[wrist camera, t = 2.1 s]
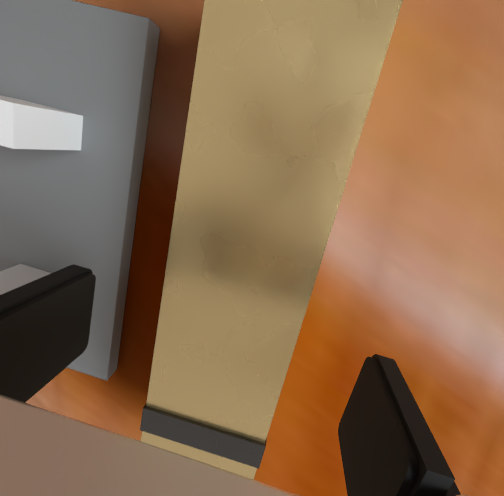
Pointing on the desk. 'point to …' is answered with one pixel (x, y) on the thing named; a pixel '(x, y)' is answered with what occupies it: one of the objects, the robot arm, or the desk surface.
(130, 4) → the desk surface
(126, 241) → the peg plate
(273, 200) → the tan long bar
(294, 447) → the desk surface
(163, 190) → the desk surface
